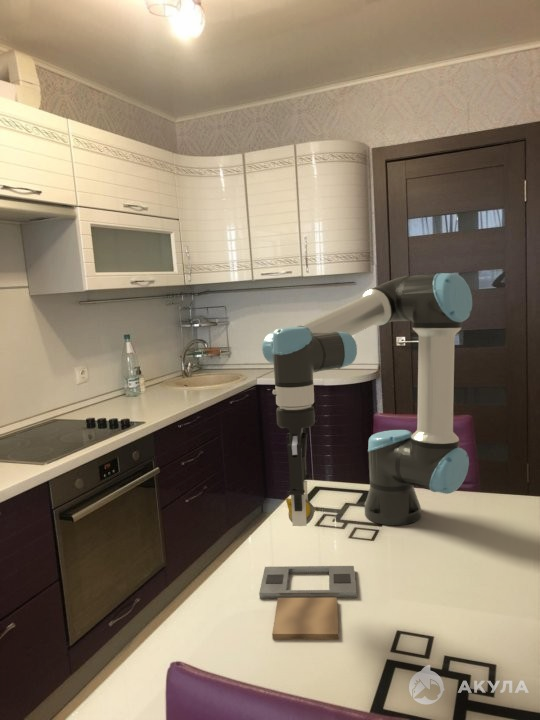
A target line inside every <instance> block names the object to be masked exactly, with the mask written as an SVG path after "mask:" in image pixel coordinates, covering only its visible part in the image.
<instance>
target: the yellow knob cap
mask: <svg viewBox="0 0 540 720" xmlns="http://www.w3.org/2000/svg"><path fill="white" fill-rule="evenodd" d="M285 501H286V505H287V509H288V519H289V521H290V522H291V523H292V505H291V498H288V497H287V498H285ZM305 501H306V522H307V525H308V524H309V523H311V521H312V519H313V518H314V517H315V516H314V515H315V512H316V511H315V508H314V505H313V504H312V503H311V501H309V500H308V501H307V500H305Z"/></svg>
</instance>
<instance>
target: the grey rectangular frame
mask: <svg viewBox="0 0 540 720" xmlns="http://www.w3.org/2000/svg"><path fill="white" fill-rule="evenodd" d="M291 574H293V575H297V574H298V575H299V574H304V575H305V574H308V575H309V574H328V580H329V581H328V583H329V584H328V585H329V587H328V589H300V590H299V589H292V590H291V589H288V586H289V585H288V584H289V579H290V575H291ZM355 574H356V573H355V565H313V566H312V565H311V566H310V565H309V566H308V565H307V566H306V565H305V566H303V565H301V566H290V565H289V566H264V569H263V575H262V578H261V584H260V587H259V593H258V596H259V599H278V598H337V599H349V598H350V599H357V586H356V575H355Z"/></svg>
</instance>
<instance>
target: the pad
mask: <svg viewBox="0 0 540 720" xmlns="http://www.w3.org/2000/svg"><path fill="white" fill-rule="evenodd" d="M338 620H339V616H338V598H277V601H276V608H275V612H274V620H273V627H272V633H271V637H272V640H273V639H274V640H339V622H338Z"/></svg>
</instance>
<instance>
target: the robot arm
mask: <svg viewBox="0 0 540 720" xmlns="http://www.w3.org/2000/svg"><path fill="white" fill-rule="evenodd" d="M472 308H473V296H472V292H471V289H470V286H469V284H468V283H467V282H466V280H465V279H464V278H463V277H462V276H461V275H459V274H457V273H447V272H440V273H429V274H428V273H427V274H418V275H417V274H415V275H404V276H401V277H396V278H394V279H391V280H389V281H386V282H384V283H381V284H379V285H378V286H374V287H373V288H370V289H369V290H367V291H365V292H364V293H363V294H362V296H361V298H358V299H356V300H353V301H351V302H349V303H347V304H344V305H342V306H340V307H337V308H336V309H333V310H331V311H329V312H327V313H324V314H322V315H320V316H318V317H316V318H313V319H311V320H309V321H306V322H304V323H302V324H300V325H297V326H290V327H289V326H288V327H287V326H286V327H279V328H276V329H275V330H274V331H271V332H270V333H268V334H267V335H266V336H265V337H264V339H263V341H262V344H261V345H262V346H261V348H262V349H261V350H262V354H263V357H264V358H265V359H264V360H266V361H267V362H268V363H270V364H272V365H273V375H274V385H275V387H274V388H275V389H272V392H271V393H272V395H275V404H276V405H277V408H276V409H275V412H276V425H277V426H278V427H279V428H280V429H287V430H289V432H287V433H286V436H285V444H286V447H287V449H286V450H287V458H288V471H289V472H288V473H289V490H288V491H287V492H286V494H287V495H288V496H290V499H291V505H292V522H291V523H292V527H307V525H308V524H307V522H306V501H305V500H307V501H309V498H308V497H309V495H308V480H311V474H307V473H308V469H307V455H306V454H307V449H308V448H307V442H308V432H306V429H308V428H310V427H312V426H314V425H315V423H316V419H315V417H316V415H315V413H316V412H315V407H314V405H313V404H314V403H315V391H314V389H315V387H314V386H315V385H314V384H315V383H314V374H315V373H317V372H322V371H329V370H335V369H336V370H337V369H338V370H340V369H341V368H345V367H347V366H350V365H352V364H353V363H354V362H355V360H356V358H357V355H358V354H357V353H358V352H357V351H358V349H357V342H356V340H355V338H354V337H353V336H354V335H356V334H358V333H361V332H362V331H364V330H366V329H368V328H371V327H372V326H374V325H375V326H383V325H385V324H387V323H390V322H412V325H411V326H412V327H411V328H412V330H413V331H414V332H415V333H416V334H417V335H418V345H417V347H418V353H417V355H418V357H417V358H418V360H417V368H418V369H417V418H416V419H417V427H416V430H415V432H413V433H412V431H410V430H408V429H389V430H384V431H379V432H376V433H374V434H371V436H370V437H369V438H368V447H367V448H368V449H367V455H368V470H369V490H368V493H367V496H366V499H365V503H364V516H365V518H366V519H368V520H369V521H371V522H373V523H376V524H378V525H385V526H404V525H409V524H413V523H416V522H418V521H419V520H420V519H421V517H422V508H421V504H420V501H419V499H418V496H417V493H416V491H415V488H414V486H415V487H416V488H417V487H418V488H422V489H424V490H428V491H431V492H434V493H441V494H445V495H446V494H447V495H448V494H452V493H454V492H456V491H457V490H458V489H459V488H460V487H461V486H462V484H463V483H464V481H465V480H466V478H467V477H466V476H467V475H468V470H469V466H470V463H469V462H470V461H469V459H470V458H469V455H468V452H467V451H466V450H465V449H464V448H462V447H460V438H459V436H457V434H456V433H455V432H454V391H455V390H454V389H455V388H454V386H455V383H454V382H455V379H454V378H455V344H456V343H455V339H456V337H455V336H456V335H457V334H458V333H459V332H460V331H461V330H462V323H464V321H466V320H467V319H468V318H469V317H470V315H471V312H472Z"/></svg>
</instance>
